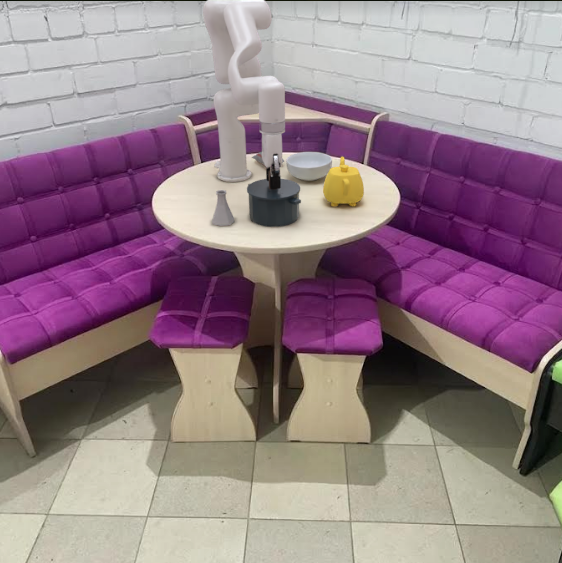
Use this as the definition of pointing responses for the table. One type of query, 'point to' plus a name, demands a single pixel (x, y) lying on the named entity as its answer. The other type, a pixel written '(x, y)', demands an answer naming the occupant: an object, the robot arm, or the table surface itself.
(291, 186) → the pot lid
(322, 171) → the cereal bowl
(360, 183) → the teapot
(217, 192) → the flask
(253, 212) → the pot
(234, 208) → the table surface
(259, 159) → the packaged food
